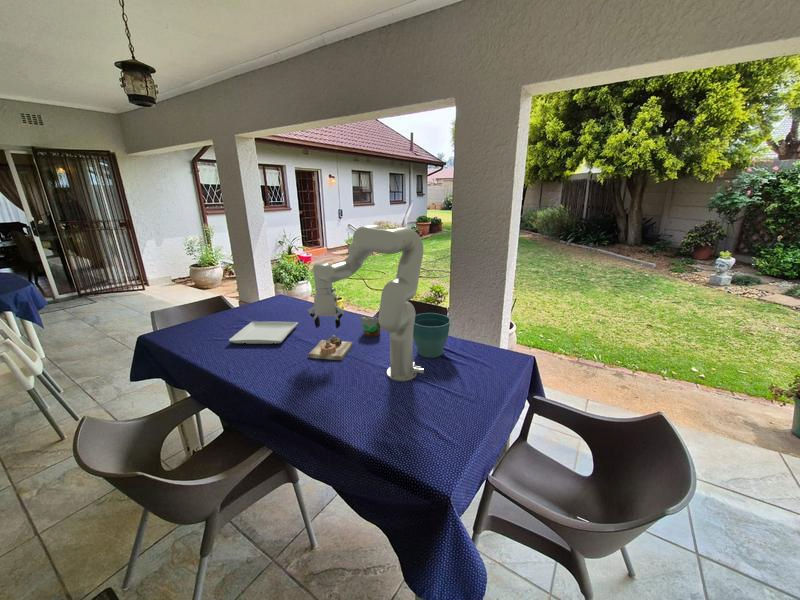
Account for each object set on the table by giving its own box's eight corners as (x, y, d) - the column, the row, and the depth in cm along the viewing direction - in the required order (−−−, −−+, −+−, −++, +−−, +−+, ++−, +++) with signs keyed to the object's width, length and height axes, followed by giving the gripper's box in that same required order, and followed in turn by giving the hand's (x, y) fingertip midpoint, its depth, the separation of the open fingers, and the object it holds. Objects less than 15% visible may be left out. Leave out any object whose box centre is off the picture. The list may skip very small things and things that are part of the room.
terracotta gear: (338, 348, 161) (338, 343, 160) (333, 354, 154) (332, 350, 153) (324, 347, 162) (323, 342, 161) (318, 353, 155) (317, 349, 155)
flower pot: (447, 363, 150) (449, 327, 145) (408, 359, 153) (408, 325, 148) (450, 346, 167) (451, 314, 162) (414, 343, 170) (414, 311, 165)
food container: (356, 335, 181) (355, 318, 178) (363, 331, 186) (362, 314, 183) (376, 339, 175) (375, 321, 173) (382, 335, 181) (381, 318, 178)
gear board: (352, 345, 168) (352, 333, 167) (341, 360, 153) (341, 347, 151) (322, 343, 171) (321, 331, 169) (308, 357, 156) (307, 344, 154)
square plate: (282, 347, 168) (281, 340, 167) (228, 346, 169) (227, 339, 168) (299, 327, 194) (298, 320, 193) (252, 327, 195) (251, 320, 194)
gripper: (345, 288, 152) (348, 324, 156) (309, 288, 155) (313, 323, 159) (339, 293, 144) (343, 330, 149) (302, 292, 148) (306, 329, 152)
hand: (327, 327), depth 154 cm, fingers open, 9 cm apart
